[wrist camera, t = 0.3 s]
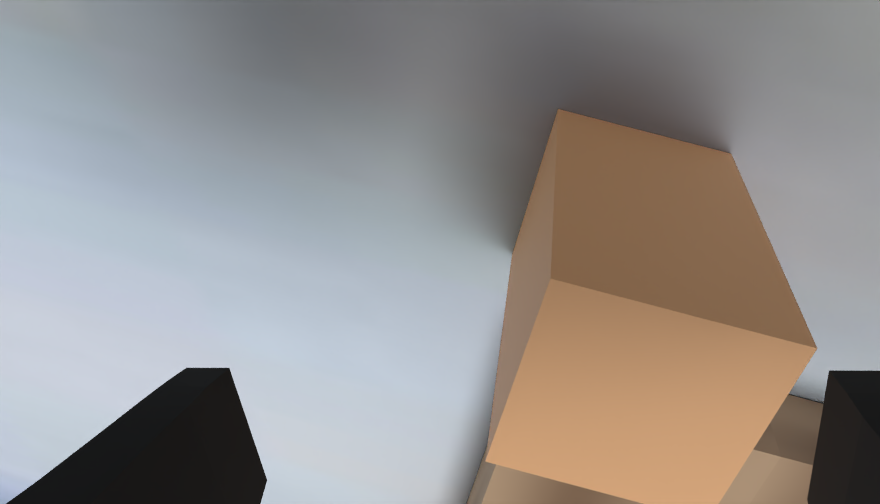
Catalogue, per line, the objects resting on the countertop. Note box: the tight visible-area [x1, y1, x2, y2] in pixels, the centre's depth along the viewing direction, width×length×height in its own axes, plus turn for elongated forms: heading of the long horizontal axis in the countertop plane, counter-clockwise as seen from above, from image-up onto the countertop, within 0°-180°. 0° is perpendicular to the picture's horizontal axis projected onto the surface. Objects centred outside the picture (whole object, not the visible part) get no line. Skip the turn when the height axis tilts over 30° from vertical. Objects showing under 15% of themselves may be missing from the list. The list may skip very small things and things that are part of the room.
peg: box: [485, 109, 817, 504], centre depth 15 cm, size 4×4×7 cm
